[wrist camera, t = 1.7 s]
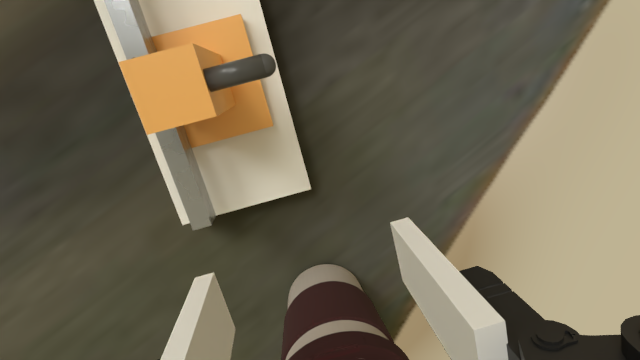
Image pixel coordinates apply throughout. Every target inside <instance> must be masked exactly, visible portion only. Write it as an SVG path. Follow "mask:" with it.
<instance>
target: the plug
mask: <svg viewBox="0 0 640 360" xmlns="http://www.w3.org/2000/svg"><path fill="white" fill-rule="evenodd" d="M152 40H153V42H154V45H155V48H156V51H157V52H155V53H152V54H148V55H144V56H140V57H136V58H132V59H129V60H125V61H121V62H119V65H120V68H121V70H122V73H123V75H124V78H125V80H126V83H127V85H128V88H129V90H130V93H131V95H132V98H133V100H134V103H135V106H136V108H137V111H138V113H139V116H140V118H141V121H142V123H143V126H144V128H145V131H146V133H147V135H149V134H152V133H156V132H160V131H164V130H167V129H171V128H175V127H179V126H182V125H184V128H185V131H186V133H187V136H188V139H189V142H190V145H191V147H192V148H194V147H197V146H201V145H205V144H209V143H212V142H216V141H220V140H223V139H227V138H231V137H234V136H238V135H242V134H246V133H249V132H253V131H257V130H260V129H264V128H268V127H271V126H273V121H272V118H271V114H270V111H269V107H268V104H267V100H266V97H265V94H264V90H263V87H262V83H261V80H260V79H263V78H267V77H270V76H271V75H273V73H274V72H275V70H276V62H275V60H274V58H273V57H272V56H270V55H269V54H266V53H262V54H258V55H254V56H253V52H252V49H251V45H250V42H249V39H248V35H247V32H246V28H245V25H244V21H243V18H242V15H241V14H238V15H234V16H230V17H227V18H223V19H219V20H215V21H211V22H207V23H203V24H199V25H196V26H192V27H188V28H184V29H180V30H176V31H172V32H169V33H165V34H161V35H157V36H153V37H152Z"/></svg>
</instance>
